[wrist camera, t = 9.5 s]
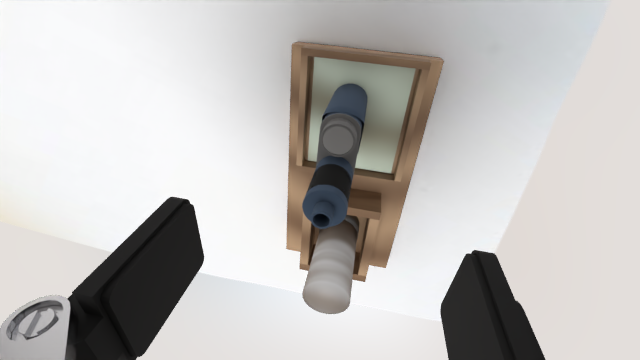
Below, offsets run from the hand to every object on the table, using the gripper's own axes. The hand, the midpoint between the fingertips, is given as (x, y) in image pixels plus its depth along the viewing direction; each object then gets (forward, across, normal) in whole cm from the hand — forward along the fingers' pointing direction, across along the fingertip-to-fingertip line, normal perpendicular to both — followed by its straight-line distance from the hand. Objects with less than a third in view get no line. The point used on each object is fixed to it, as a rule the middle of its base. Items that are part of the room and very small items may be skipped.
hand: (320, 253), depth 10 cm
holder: (+17, 0, +7) cm, 19 cm away
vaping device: (+16, 0, +1) cm, 16 cm away
